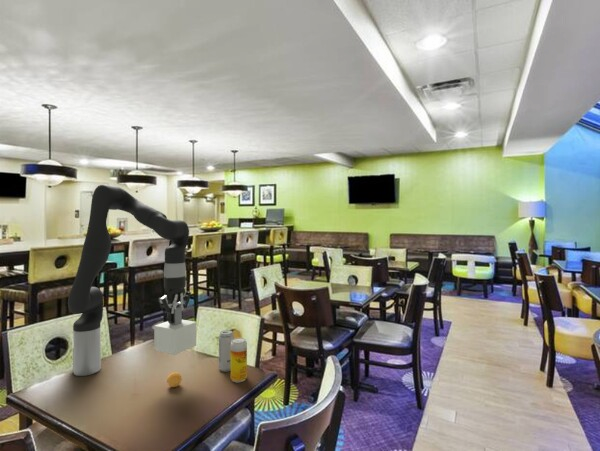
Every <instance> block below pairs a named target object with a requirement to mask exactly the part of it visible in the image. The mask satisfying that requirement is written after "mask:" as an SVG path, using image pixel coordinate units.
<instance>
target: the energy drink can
mask: <svg viewBox="0 0 600 451" xmlns="http://www.w3.org/2000/svg"><path fill="white" fill-rule="evenodd" d="M232 339H235V335H234V334H233V330H228V329H226V330H222V331H220V333H219V336H218V368H219V370H220V372H225V373H227V372H231V342H232Z"/></svg>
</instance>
